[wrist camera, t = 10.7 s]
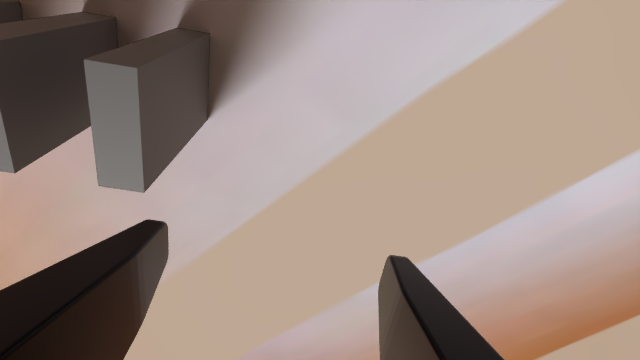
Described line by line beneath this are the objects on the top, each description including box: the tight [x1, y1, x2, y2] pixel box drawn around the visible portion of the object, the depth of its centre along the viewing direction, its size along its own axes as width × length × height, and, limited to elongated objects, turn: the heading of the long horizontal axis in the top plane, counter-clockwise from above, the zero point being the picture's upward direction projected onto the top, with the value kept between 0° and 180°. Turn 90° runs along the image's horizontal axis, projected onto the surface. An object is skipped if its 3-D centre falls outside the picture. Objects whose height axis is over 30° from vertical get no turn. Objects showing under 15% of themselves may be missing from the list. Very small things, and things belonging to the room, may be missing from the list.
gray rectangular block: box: [84, 28, 210, 193], centre depth 16 cm, size 2×4×8 cm, turn 171°
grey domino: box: [0, 12, 118, 173], centre depth 16 cm, size 2×4×8 cm, turn 171°
